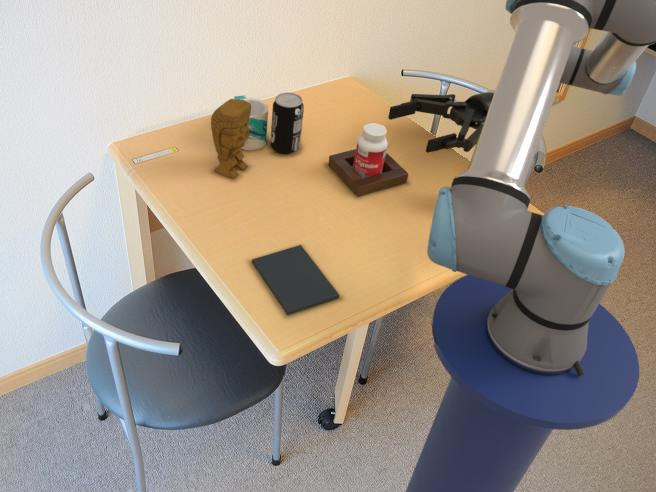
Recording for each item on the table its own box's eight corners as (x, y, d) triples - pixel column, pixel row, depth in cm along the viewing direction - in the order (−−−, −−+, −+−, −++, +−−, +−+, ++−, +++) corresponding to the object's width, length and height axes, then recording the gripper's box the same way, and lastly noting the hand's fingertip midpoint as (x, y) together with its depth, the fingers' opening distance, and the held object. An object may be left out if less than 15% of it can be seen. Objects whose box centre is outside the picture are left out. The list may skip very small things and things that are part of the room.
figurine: (233, 181, 135) (234, 118, 125) (207, 171, 138) (206, 107, 127) (251, 165, 140) (253, 102, 129) (226, 155, 142) (226, 93, 132)
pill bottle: (348, 177, 138) (355, 132, 130) (357, 162, 142) (364, 118, 134) (376, 185, 136) (385, 140, 128) (384, 170, 140) (394, 125, 133)
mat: (339, 298, 112) (339, 295, 112) (287, 315, 109) (287, 312, 109) (300, 247, 121) (300, 244, 121) (251, 262, 118) (251, 259, 118)
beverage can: (266, 141, 147) (269, 93, 138) (294, 137, 148) (298, 89, 140) (275, 157, 142) (278, 109, 134) (303, 154, 144) (308, 105, 135)
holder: (406, 183, 137) (408, 173, 135) (357, 196, 133) (359, 187, 131) (375, 153, 145) (376, 143, 143) (328, 165, 141) (329, 155, 139)
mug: (235, 152, 143) (236, 118, 137) (222, 123, 151) (222, 90, 146) (271, 147, 145) (273, 113, 139) (256, 119, 153) (257, 86, 148)
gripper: (523, 154, 137) (440, 177, 130) (449, 97, 153) (373, 115, 146) (534, 122, 132) (450, 145, 125) (457, 67, 148) (378, 85, 141)
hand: (408, 129), depth 136 cm, fingers open, 13 cm apart
